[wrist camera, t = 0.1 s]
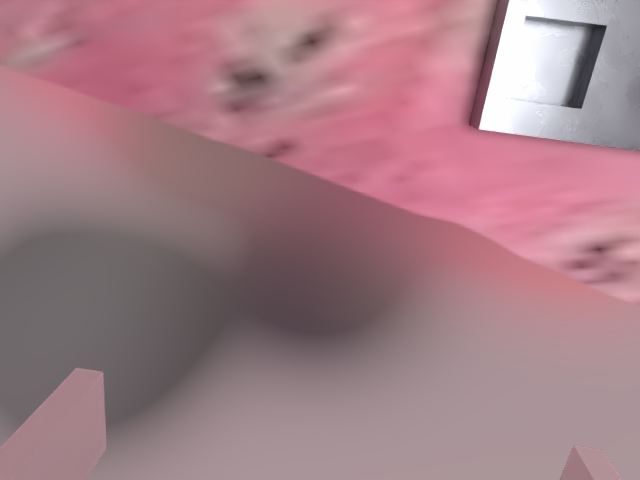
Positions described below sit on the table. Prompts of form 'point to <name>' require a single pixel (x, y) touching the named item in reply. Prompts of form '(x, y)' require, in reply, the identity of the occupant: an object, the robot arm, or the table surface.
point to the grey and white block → (563, 72)
